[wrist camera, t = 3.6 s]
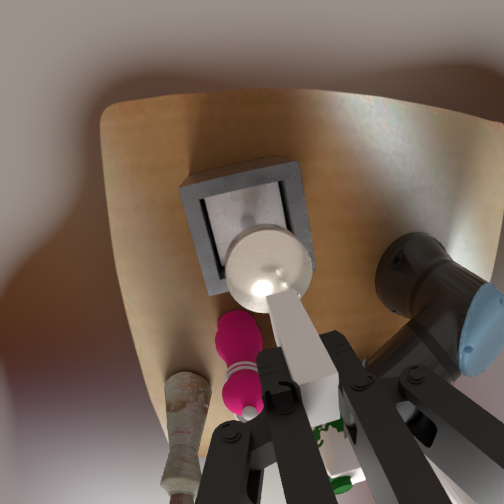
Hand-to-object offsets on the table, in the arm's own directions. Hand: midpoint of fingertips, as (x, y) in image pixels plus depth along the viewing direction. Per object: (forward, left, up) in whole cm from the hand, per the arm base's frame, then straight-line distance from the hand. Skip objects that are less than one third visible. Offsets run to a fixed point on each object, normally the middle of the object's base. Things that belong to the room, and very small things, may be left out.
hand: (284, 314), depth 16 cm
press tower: (0, 0, -30) cm, 30 cm away
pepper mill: (+5, +19, -30) cm, 36 cm away
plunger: (0, 0, -20) cm, 20 cm away
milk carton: (-8, +49, -30) cm, 58 cm away
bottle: (+17, +30, -30) cm, 46 cm away
